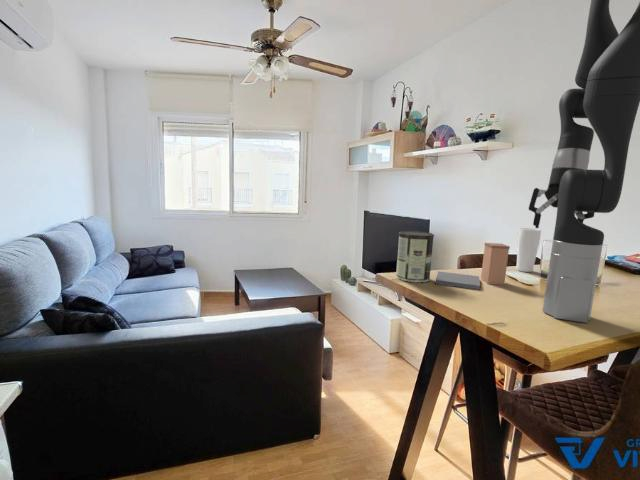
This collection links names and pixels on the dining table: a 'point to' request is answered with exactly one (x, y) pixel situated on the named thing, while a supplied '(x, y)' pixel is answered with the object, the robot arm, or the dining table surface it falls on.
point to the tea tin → (494, 263)
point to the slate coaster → (458, 280)
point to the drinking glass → (527, 248)
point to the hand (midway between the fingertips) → (555, 230)
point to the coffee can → (414, 256)
